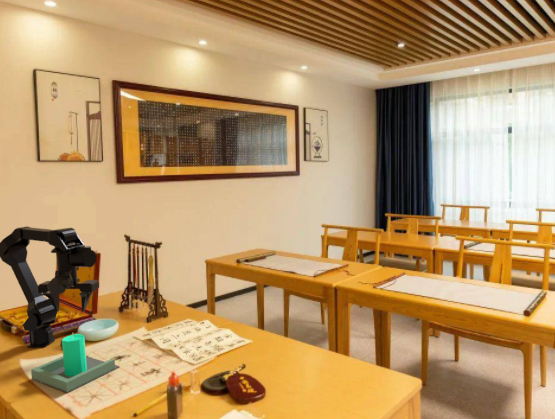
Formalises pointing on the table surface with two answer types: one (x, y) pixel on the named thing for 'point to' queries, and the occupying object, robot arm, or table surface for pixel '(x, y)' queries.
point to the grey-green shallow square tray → (57, 379)
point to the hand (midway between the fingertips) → (70, 311)
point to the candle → (74, 354)
